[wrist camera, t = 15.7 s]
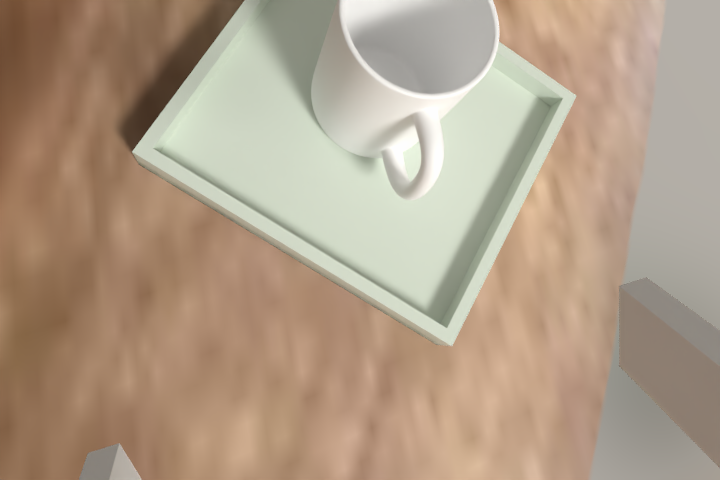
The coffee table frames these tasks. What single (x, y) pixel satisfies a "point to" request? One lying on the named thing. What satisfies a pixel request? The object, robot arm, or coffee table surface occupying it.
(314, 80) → the cup
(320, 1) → the sage tray
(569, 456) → the coffee table surface
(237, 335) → the coffee table surface
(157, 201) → the coffee table surface
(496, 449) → the coffee table surface
